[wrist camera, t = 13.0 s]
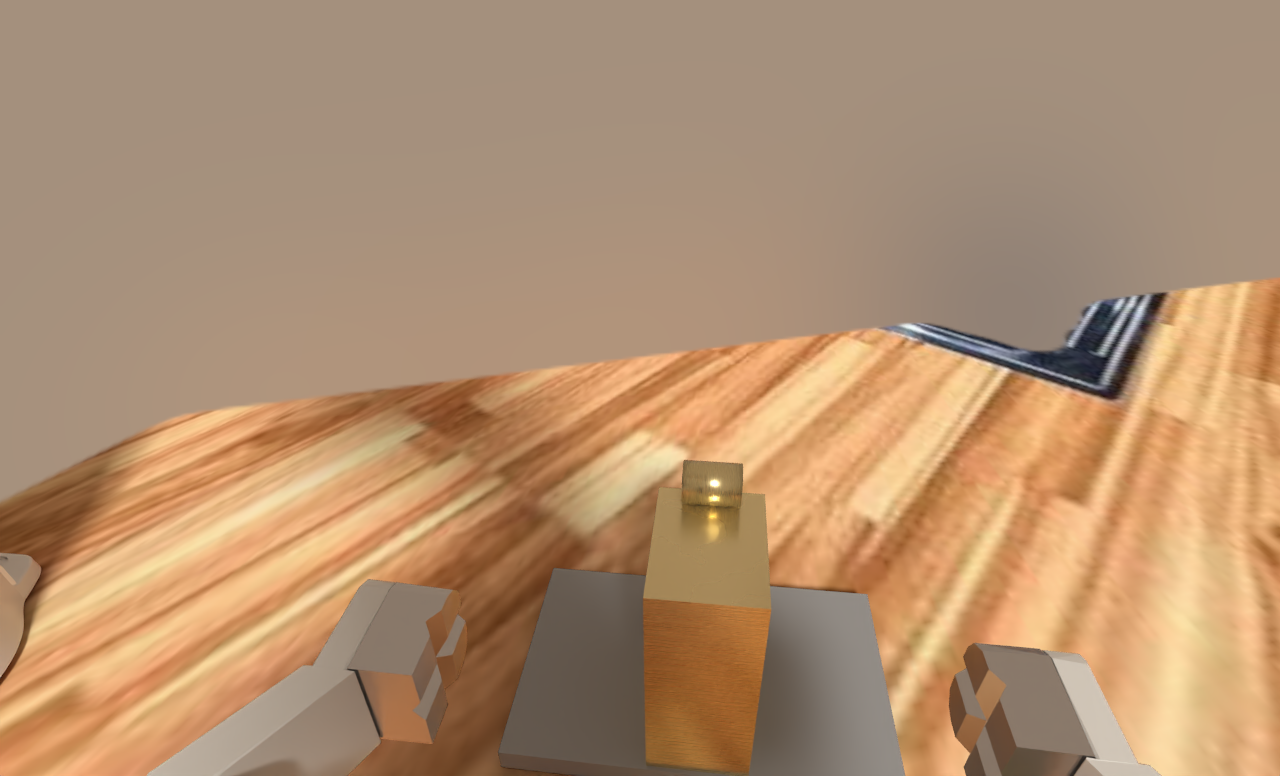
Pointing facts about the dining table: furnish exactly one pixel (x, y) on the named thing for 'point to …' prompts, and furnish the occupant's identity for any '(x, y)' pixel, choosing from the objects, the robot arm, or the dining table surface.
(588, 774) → the gray base plate
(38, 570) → the robot arm
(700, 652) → the tan block
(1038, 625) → the dining table surface
